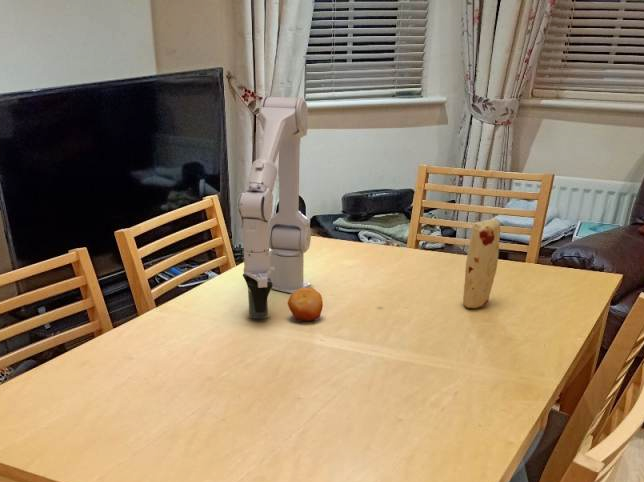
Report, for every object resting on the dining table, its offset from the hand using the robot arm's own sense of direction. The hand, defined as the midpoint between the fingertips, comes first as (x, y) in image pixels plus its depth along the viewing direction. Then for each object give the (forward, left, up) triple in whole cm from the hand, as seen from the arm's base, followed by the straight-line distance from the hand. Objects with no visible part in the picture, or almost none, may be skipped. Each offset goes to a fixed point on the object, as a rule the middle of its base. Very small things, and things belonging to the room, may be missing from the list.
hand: (258, 308), depth 176 cm
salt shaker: (0, 0, -2) cm, 2 cm away
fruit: (+9, +6, -3) cm, 11 cm away
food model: (+38, +37, -3) cm, 53 cm away
